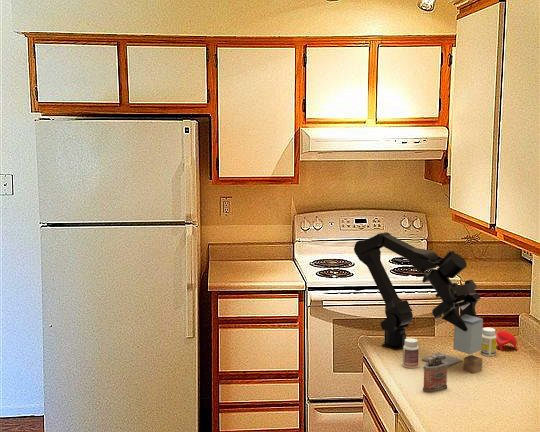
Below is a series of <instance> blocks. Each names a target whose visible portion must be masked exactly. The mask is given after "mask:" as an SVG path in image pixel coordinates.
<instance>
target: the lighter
mask: <svg viewBox="0 0 540 432" xmlns="http://www.w3.org/2000/svg"><path fill="white" fill-rule="evenodd" d="M444 354H445V353H442V355H438V356H435V355H433V354H431V355H432V357H430V358H428V360H427V362H426V364H423V386H422V392H423V393H426V394H430V393H431V394H432V393H436V392H441V391H445V390H447V389H448V383H447V381H448V380H447V379H448V367H447V366H448V363H447V362H445V361H442V360H445V359H446V356H445V355H446V354H445V355H444Z"/></svg>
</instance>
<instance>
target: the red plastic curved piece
mask: <svg viewBox="0 0 540 432" xmlns="http://www.w3.org/2000/svg"><path fill="white" fill-rule="evenodd" d="M495 335H496V345H497V346H498V348H499V349H500V351H501V350H502V351H504V347H503V346H506V345H508V344H511V345H513V348H515V350H516V351H517V350H518V346H517V345H518V340H517V339H516V337H515V336H514V334H512V333H510V332H508V331H506V330H499V331H497V332H495Z"/></svg>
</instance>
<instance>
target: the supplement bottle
mask: <svg viewBox="0 0 540 432" xmlns="http://www.w3.org/2000/svg"><path fill="white" fill-rule="evenodd" d="M496 353H497V342H496V329H495V328H493V327H483V328H482V344H481V350H480V354H481V355H483V356H485V357H494V356H496Z"/></svg>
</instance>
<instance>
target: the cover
mask: <svg viewBox="0 0 540 432" xmlns="http://www.w3.org/2000/svg"><path fill="white" fill-rule="evenodd" d="M460 316H461V318H462V320H463V322H464V323H465V325H466V327H467V329H468V330H467V331H463V330H461V329H460V328H458V327H457V326H455V325H454V331H453V349H452V350H455V351H458V352H460V353H461V352H462V353H464V354H468V355H473V354H475V353H478V352H479V351H480V352H481V344H482V334H483V328H484V327H483V325H484V319H483V318H482V317H474V316H471V315H467V314H465V315H460Z"/></svg>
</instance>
